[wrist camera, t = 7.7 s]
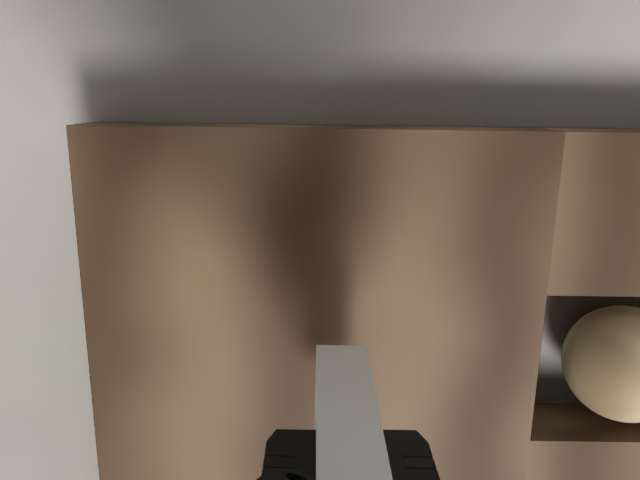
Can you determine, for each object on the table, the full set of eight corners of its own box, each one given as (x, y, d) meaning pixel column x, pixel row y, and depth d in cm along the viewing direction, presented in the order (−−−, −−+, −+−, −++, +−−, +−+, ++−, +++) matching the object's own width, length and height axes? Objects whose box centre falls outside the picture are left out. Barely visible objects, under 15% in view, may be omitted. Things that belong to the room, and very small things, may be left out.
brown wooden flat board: (785, 130, 20) (850, 135, 17) (704, 521, 24) (748, 569, 21) (97, 121, 20) (66, 125, 17) (129, 513, 24) (107, 560, 21)
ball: (717, 311, 19) (681, 344, 17) (695, 416, 20) (658, 463, 18) (595, 282, 22) (548, 306, 19) (582, 375, 23) (535, 411, 20)
